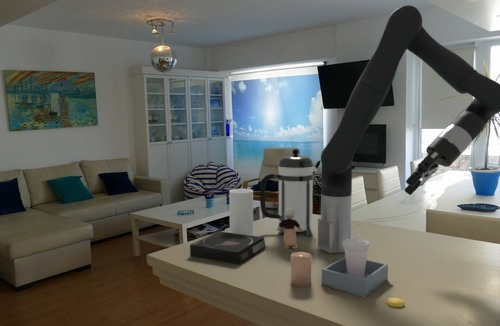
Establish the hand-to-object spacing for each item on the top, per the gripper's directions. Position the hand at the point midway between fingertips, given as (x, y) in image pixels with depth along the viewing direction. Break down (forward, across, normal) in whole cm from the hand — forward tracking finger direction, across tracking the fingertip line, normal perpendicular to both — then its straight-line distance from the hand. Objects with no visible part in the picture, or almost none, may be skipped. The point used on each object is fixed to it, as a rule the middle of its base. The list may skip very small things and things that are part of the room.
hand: (407, 188), depth 111 cm
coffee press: (+31, -32, -23) cm, 50 cm away
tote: (+28, +5, +7) cm, 29 cm away
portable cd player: (+49, -7, -26) cm, 56 cm away
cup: (+44, -24, -33) cm, 60 cm away
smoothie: (+28, +5, +7) cm, 29 cm away
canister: (+37, +8, -2) cm, 38 cm away
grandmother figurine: (+34, -16, -16) cm, 41 cm away
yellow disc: (+25, +14, +17) cm, 33 cm away
